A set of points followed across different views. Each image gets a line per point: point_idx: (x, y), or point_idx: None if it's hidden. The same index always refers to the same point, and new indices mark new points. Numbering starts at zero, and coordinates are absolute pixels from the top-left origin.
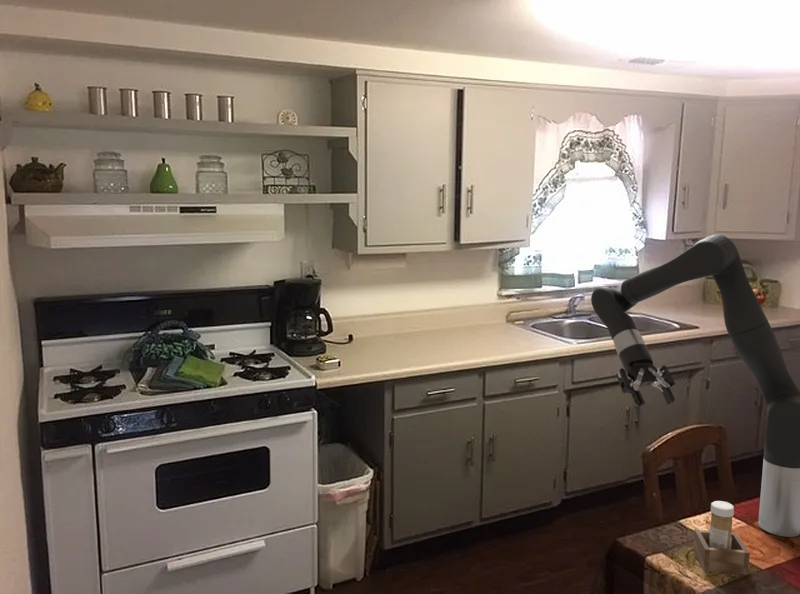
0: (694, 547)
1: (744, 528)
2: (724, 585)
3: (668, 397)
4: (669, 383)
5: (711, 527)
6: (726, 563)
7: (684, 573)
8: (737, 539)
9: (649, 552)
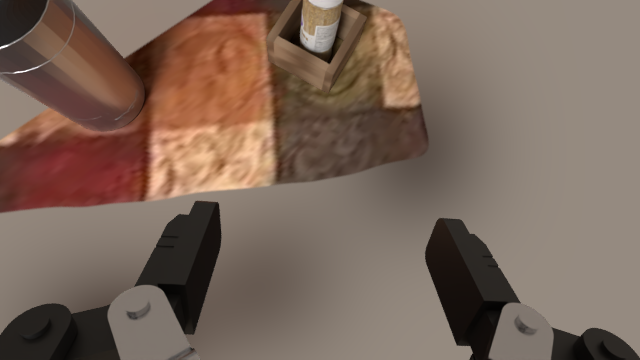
0: (332, 84)
1: (172, 120)
2: (357, 3)
3: (209, 242)
4: (73, 350)
5: (339, 17)
6: None
7: (391, 47)
8: (285, 20)
9: (404, 113)
